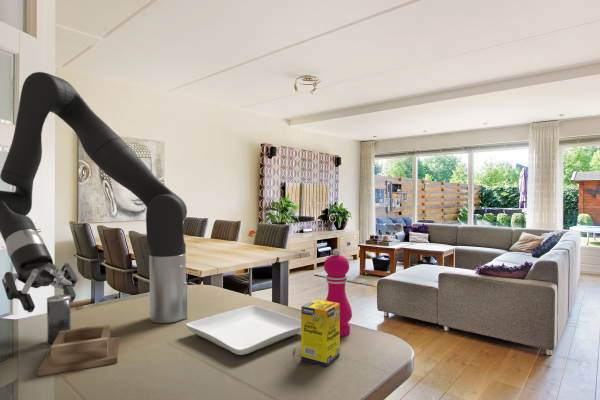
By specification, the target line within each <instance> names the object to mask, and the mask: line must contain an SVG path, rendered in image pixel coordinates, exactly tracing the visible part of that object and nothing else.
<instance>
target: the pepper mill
mask: <svg viewBox="0 0 600 400" xmlns="http://www.w3.org/2000/svg"><path fill="white" fill-rule="evenodd" d="M332 254H333V255H331V256H328V257H327V258H326V259H325V260H324V264H323V267H324V268H323V269H324V271H325V273H326V274H327V275H325V276H326V280H325V282H326V283H327V287H328V288H327V289H328V290H327V296H326V299H325V301H329V302H335V303H340V338H341V337H346V336H348V335H350V334H351V325H350V323H349V322H350V321H351V319H352V318H353V313H352V311H353V310H352V306H351V305H350V302H349V300H348V298H347V294H346V283H347V282H348V280H347V278H348V276H347V273H348V272H349V270H350V262H349V260H348V259H347V258H346V257H345V256H343V255H340V254H341V251H340V249H339V248H334V249H333V250H332Z"/></svg>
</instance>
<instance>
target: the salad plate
mask: <svg viewBox="0 0 600 400" xmlns="http://www.w3.org/2000/svg"><path fill="white" fill-rule="evenodd" d="M185 326H186V328H187V329H188V330H189V331H190V332H192V333H194V334H196V335H197V336H199V337H201V338H204V339H206V340H207V341H209V342H211V343H214V344H215V345H217V346H220V347H221V348H224V349H226V350H227V351H229V352H231V353H232V354H235V355H239V356H245V355H247V354H250V353H253V352H255V351H259V350H261V349H263V348H266V347H268V346H271V345H274V344H275V343H277V342H279V341H283V340H285V339H287V338H290V337H292V336H296V335H297V334H300V333H301V319H299V318H296V317H293V316H290V315H287V314H284V313H281V312H278V311H275V310H271V309H268V308H264V307H262V306H259V305H253V304H252V305H248V306H245V307H239V308H236V309H233V310H229V311H224V312H221V313H217V314H214V315H210V316H207V317H203V318H200V319H197V320H193V321H189V322H186V324H185Z"/></svg>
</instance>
